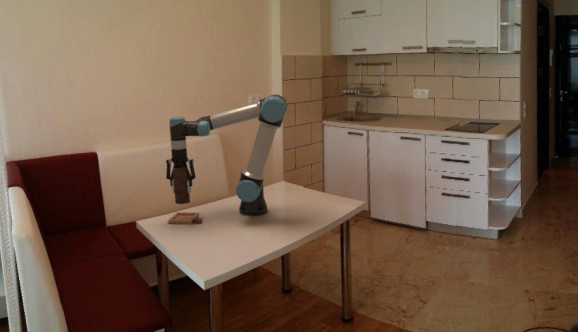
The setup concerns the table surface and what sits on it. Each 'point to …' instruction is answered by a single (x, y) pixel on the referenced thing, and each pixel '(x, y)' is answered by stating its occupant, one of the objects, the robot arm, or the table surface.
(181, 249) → the table surface
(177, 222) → the dish
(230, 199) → the table surface
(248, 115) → the robot arm
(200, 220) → the matchbox
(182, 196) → the dark brown tall piece
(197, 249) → the table surface
